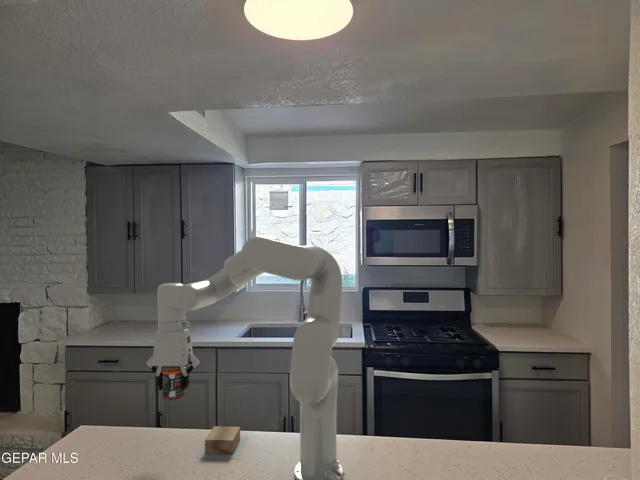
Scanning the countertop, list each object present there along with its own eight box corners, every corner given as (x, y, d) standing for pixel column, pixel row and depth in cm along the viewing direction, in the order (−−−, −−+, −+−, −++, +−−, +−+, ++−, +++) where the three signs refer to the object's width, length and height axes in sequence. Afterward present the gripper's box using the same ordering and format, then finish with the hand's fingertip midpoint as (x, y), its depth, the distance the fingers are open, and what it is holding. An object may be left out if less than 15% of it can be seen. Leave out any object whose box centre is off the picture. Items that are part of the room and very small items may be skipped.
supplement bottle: (177, 401, 110) (176, 361, 110) (158, 400, 111) (157, 360, 111) (188, 393, 116) (187, 355, 116) (170, 392, 117) (169, 354, 117)
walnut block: (240, 440, 119) (240, 426, 119) (232, 454, 111) (232, 440, 111) (214, 439, 120) (214, 426, 120) (204, 453, 112) (204, 439, 112)
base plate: (248, 440, 121) (248, 437, 121) (237, 462, 109) (237, 458, 109) (209, 439, 122) (209, 435, 122) (195, 461, 110) (195, 457, 110)
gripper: (205, 323, 117) (207, 383, 117) (149, 323, 118) (150, 384, 118) (196, 328, 109) (198, 393, 109) (136, 329, 111) (137, 393, 110)
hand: (173, 388), depth 114 cm, fingers closed on supplement bottle, 6 cm apart
